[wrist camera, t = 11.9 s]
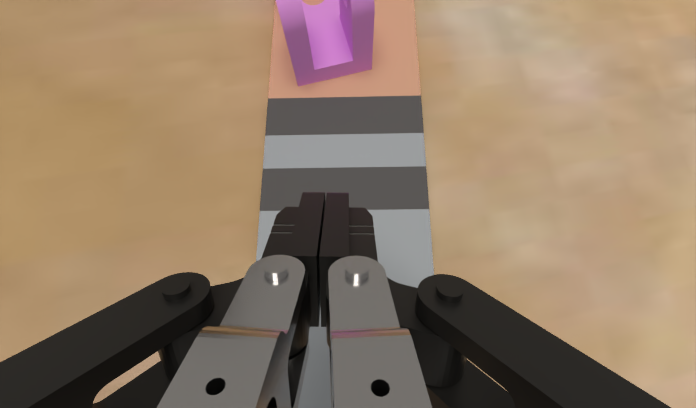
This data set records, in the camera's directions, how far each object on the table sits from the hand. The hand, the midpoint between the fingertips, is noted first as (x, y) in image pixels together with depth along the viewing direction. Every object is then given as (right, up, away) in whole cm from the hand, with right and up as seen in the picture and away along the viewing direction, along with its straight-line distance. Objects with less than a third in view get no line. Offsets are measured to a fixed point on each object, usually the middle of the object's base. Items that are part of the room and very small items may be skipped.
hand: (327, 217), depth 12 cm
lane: (0, +7, +14) cm, 16 cm away
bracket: (-2, +16, +17) cm, 23 cm away
